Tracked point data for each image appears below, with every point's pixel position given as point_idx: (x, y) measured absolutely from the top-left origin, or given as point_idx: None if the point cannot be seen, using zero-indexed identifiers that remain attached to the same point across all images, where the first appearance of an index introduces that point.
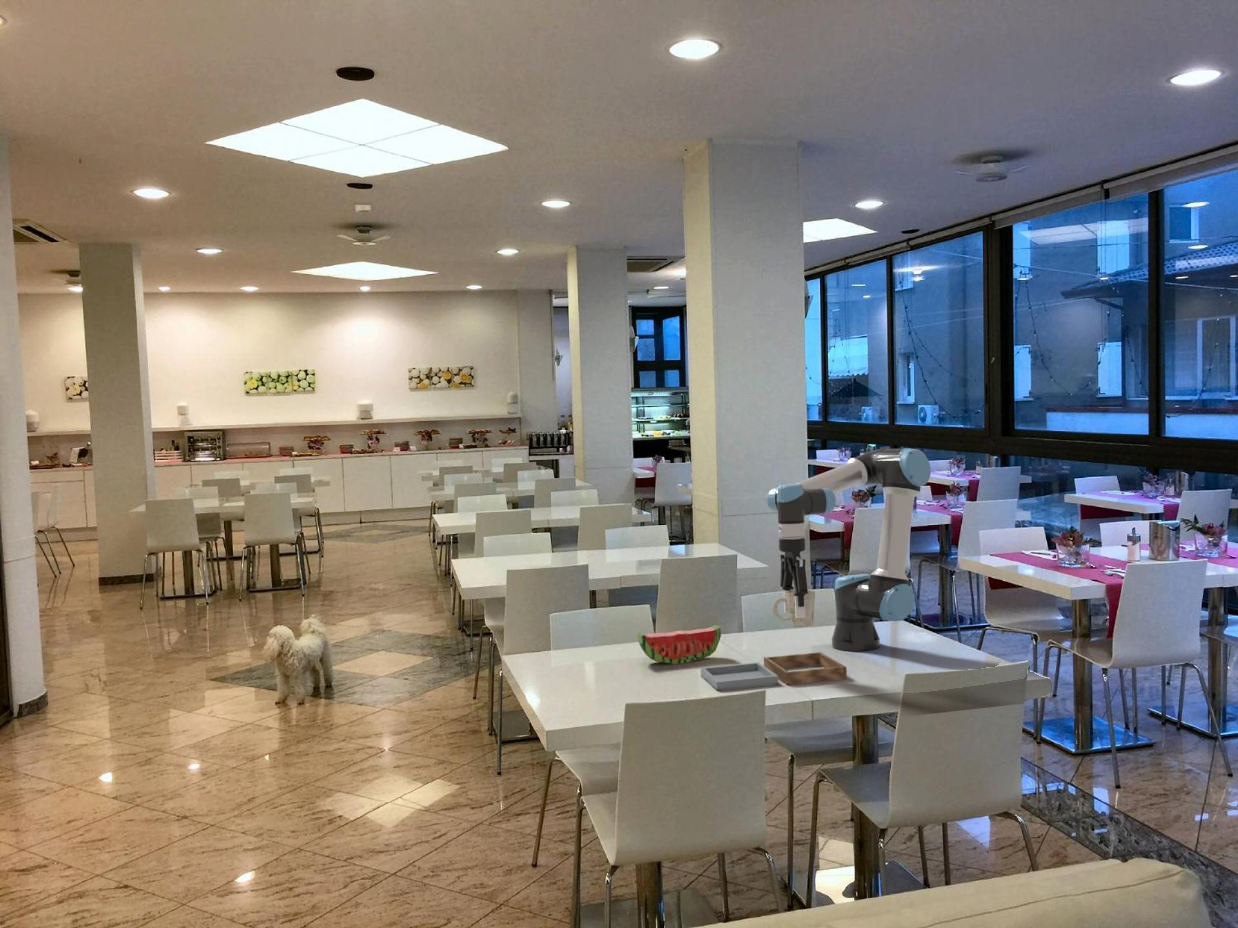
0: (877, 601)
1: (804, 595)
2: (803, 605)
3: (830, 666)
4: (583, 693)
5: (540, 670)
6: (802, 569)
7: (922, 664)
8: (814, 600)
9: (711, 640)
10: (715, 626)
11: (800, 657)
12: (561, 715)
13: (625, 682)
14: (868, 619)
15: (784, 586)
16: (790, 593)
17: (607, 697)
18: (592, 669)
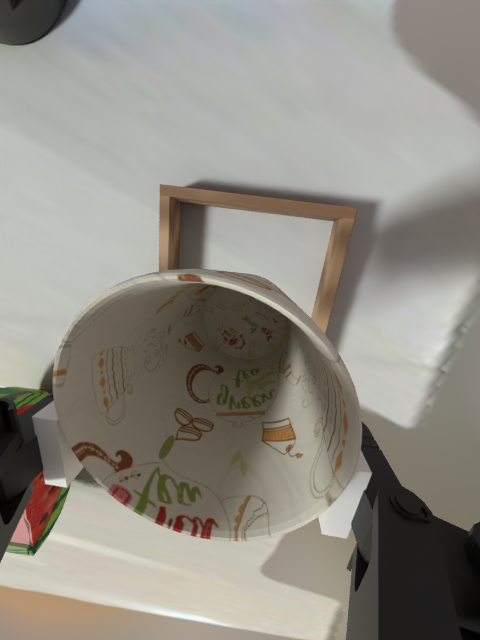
0: None
1: (370, 470)
2: (362, 428)
3: (259, 210)
4: (195, 582)
5: (59, 578)
6: None
7: None
8: (281, 292)
9: (21, 412)
10: None
11: (171, 254)
12: (277, 622)
13: (162, 535)
14: None
15: (16, 525)
16: (246, 536)
17: (228, 572)
18: (73, 539)
